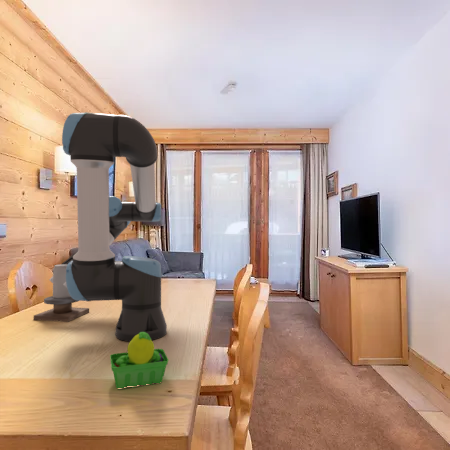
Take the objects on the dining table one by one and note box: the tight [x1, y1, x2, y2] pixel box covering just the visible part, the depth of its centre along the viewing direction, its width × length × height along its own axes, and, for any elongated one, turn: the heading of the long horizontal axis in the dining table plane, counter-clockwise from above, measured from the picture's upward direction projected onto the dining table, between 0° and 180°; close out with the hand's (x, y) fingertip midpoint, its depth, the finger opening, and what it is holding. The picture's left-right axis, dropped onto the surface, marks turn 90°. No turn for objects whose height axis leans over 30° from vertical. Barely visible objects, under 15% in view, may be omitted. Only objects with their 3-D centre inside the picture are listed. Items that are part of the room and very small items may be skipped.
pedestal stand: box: [33, 295, 90, 323], centre depth 120 cm, size 13×13×6 cm
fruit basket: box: [109, 332, 169, 389], centre depth 69 cm, size 11×9×11 cm
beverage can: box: [52, 263, 71, 299], centre depth 120 cm, size 6×6×12 cm
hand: (58, 284), depth 119 cm, fingers open, 13 cm apart
